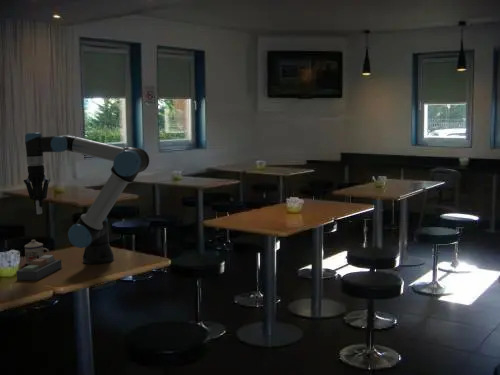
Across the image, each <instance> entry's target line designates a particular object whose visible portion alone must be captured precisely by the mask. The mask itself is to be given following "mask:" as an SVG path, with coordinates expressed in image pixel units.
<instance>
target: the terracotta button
mask: <svg viewBox="0 0 500 375" xmlns="http://www.w3.org/2000/svg"><path fill="white" fill-rule="evenodd" d="M32 265H39V267H43V266H45V265H47V260H46V259H35V260H33V261H32Z"/></svg>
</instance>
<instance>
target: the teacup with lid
mask: <svg viewBox="0 0 500 375" xmlns="http://www.w3.org/2000/svg"><path fill="white" fill-rule="evenodd" d="M23 248H24V254H25V264H26V265H28V266H29V265H31V264H32V261H33V260H35V259H40V257H42V256H44V255H45V253H44V251H46V255H50V250H49V249H48V248H46V247H44V243H42V242H38V241H36V239H31V241H30V242H28V243H27V244H25V245H24V246H23Z"/></svg>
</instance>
